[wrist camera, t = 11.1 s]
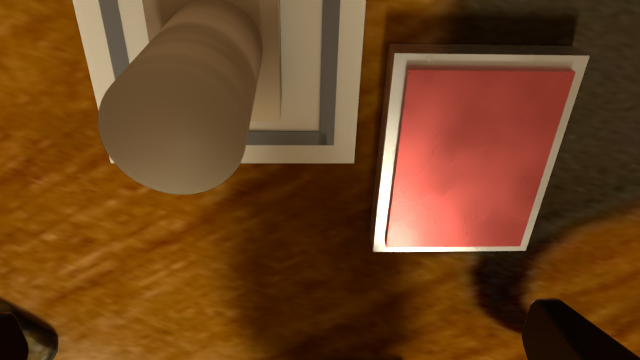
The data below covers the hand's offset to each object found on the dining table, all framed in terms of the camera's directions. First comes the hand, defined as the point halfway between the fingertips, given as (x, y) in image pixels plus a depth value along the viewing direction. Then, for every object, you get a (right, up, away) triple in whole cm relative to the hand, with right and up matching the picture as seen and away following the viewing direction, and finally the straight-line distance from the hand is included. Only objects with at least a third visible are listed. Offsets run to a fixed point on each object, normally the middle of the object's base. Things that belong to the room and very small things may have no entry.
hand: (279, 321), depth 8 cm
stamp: (-3, +8, +9) cm, 12 cm away
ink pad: (+7, +4, +12) cm, 14 cm away
